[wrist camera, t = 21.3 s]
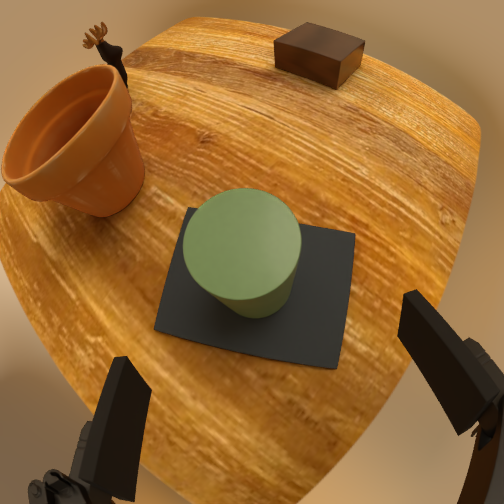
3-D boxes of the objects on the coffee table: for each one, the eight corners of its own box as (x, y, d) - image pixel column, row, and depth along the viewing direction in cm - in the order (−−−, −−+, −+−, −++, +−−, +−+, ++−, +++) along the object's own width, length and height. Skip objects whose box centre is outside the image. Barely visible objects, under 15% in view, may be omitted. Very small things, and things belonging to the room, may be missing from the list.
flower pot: (97, 267, 25) (8, 216, 13) (57, 197, 29) (-4, 145, 17) (191, 173, 28) (146, 78, 16) (130, 125, 32) (89, 56, 20)
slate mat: (353, 235, 24) (355, 233, 24) (335, 368, 21) (337, 369, 20) (189, 209, 26) (187, 206, 26) (156, 329, 23) (153, 329, 22)
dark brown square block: (360, 64, 33) (365, 40, 28) (336, 90, 31) (341, 61, 26) (306, 45, 35) (306, 22, 31) (274, 67, 33) (273, 40, 29)
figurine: (147, 88, 35) (114, 14, 20) (111, 116, 33) (67, 44, 19) (121, 75, 38) (91, 15, 23) (90, 99, 36) (54, 41, 22)
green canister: (297, 255, 23) (308, 196, 14) (284, 324, 22) (290, 311, 12) (229, 243, 24) (200, 182, 15) (213, 310, 23) (169, 286, 13)
